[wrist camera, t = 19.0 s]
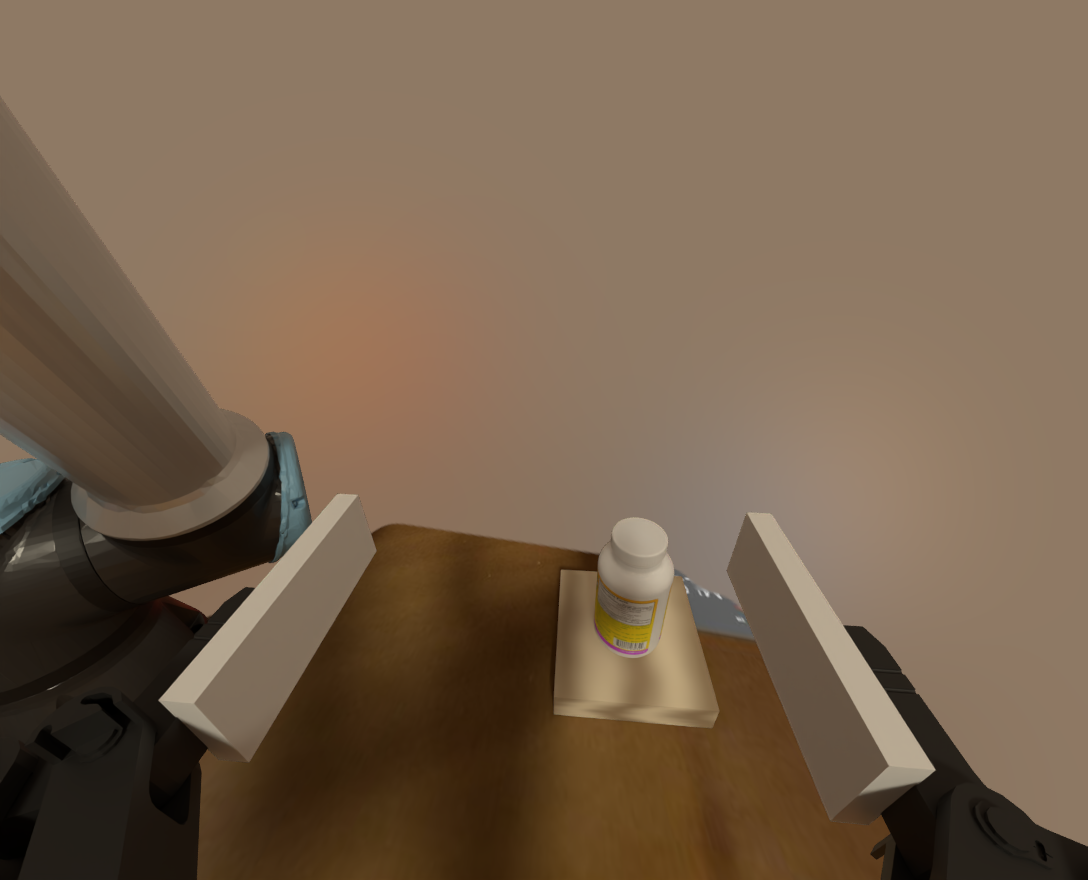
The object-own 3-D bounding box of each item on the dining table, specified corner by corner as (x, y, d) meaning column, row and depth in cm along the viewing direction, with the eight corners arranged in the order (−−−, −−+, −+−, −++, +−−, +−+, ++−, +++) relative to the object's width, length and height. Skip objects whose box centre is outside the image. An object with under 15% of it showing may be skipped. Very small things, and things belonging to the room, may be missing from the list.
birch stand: (553, 714, 35) (553, 697, 33) (560, 586, 47) (561, 569, 45) (712, 728, 34) (719, 711, 32) (677, 593, 46) (681, 576, 44)
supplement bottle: (626, 590, 43) (639, 500, 36) (674, 636, 38) (698, 541, 31) (579, 621, 39) (584, 528, 33) (625, 676, 35) (641, 579, 28)
